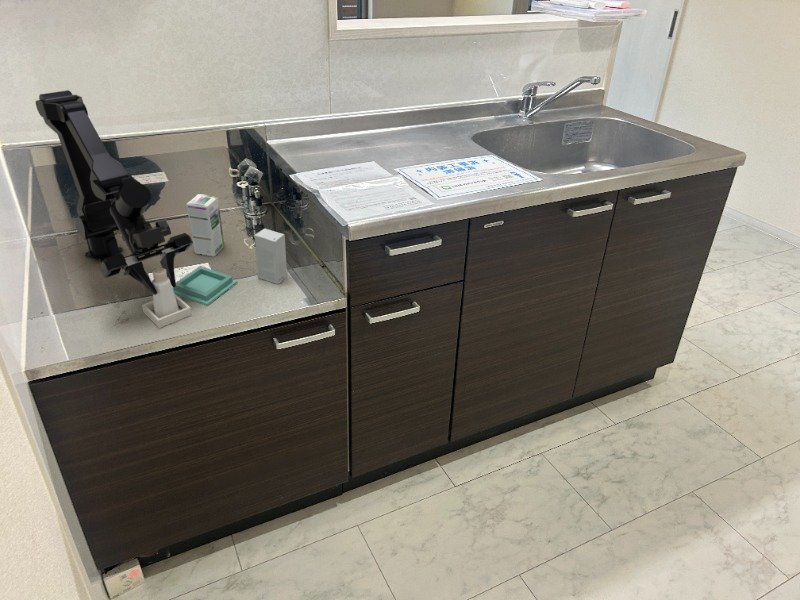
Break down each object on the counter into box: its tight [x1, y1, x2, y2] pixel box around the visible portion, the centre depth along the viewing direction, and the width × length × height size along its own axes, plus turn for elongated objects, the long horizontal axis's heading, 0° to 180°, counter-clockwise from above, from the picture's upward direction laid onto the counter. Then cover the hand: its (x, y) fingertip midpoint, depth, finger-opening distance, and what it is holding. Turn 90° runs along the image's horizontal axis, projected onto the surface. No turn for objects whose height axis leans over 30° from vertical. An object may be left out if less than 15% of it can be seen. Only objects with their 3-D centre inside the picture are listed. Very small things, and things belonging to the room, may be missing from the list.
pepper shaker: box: [151, 267, 180, 318], centre depth 130 cm, size 5×5×11 cm
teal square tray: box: [172, 265, 238, 307], centre depth 142 cm, size 11×11×2 cm
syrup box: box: [186, 193, 225, 258], centre depth 153 cm, size 6×6×14 cm
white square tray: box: [141, 293, 192, 329], centre depth 133 cm, size 8×8×2 cm
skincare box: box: [253, 228, 288, 285], centre depth 145 cm, size 6×4×12 cm
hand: (165, 290), depth 129 cm, fingers closed on pepper shaker, 4 cm apart
